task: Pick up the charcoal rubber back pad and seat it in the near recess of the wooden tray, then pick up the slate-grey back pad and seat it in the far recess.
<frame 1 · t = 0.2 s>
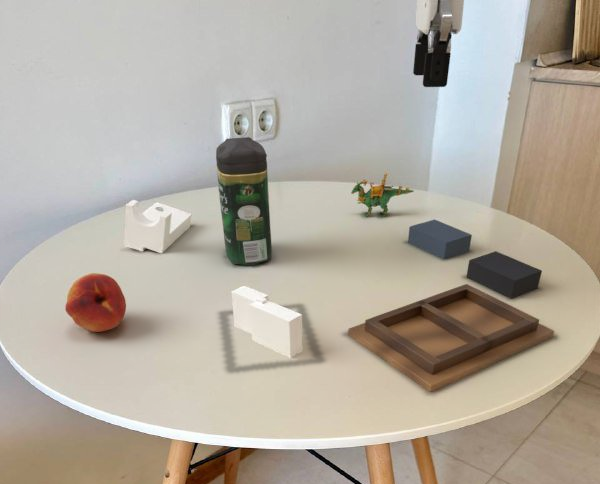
hand: (428, 80, 84), 27 cm above the table, tool pointing down, fingers open, 9 cm apart
coffee jar: (248, 256, 102), on the table
white stepped block: (268, 337, 80), on the table
pad near: (501, 283, 92), on the table
wooden tray: (449, 336, 79), on the table
pad front: (437, 247, 103), on the table
bracket: (163, 239, 109), on the table
figurine: (380, 216, 116), on the table
fruit: (102, 329, 82), on the table
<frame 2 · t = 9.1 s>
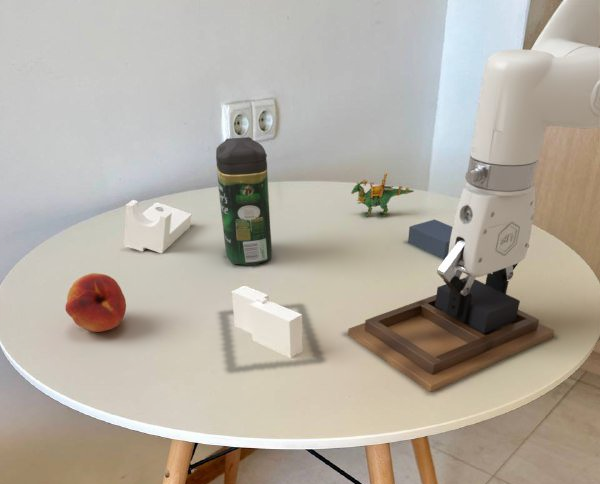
hand: (475, 309, 80), 3 cm above the table, tool pointing down, fingers closed on pad near, 6 cm apart
pad near: (474, 313, 80), point 2 cm above the table, touching gripper
everything else where it was.
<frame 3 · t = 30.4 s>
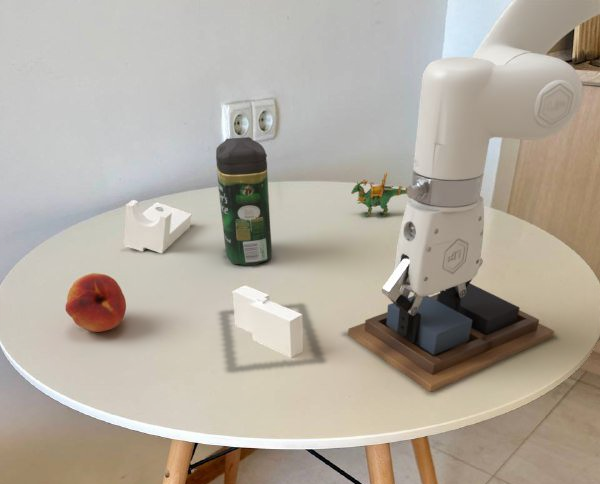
hand: (427, 328, 76), 3 cm above the table, tool pointing down, fingers closed on pad front, 6 cm apart
pad near: (474, 320, 81), point 1 cm above the table, touching wooden tray
pad front: (426, 332, 76), point 2 cm above the table, touching gripper
everything else where it was.
when the fingers open (4 cm above the table, at t = 39.8 s): pad front drops 2 cm, resting on wooden tray.
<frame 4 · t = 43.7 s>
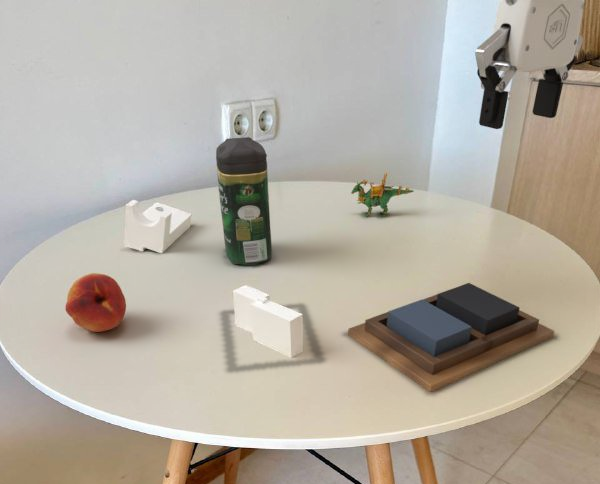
hand: (517, 121, 73), 24 cm above the table, tool pointing down, fingers open, 9 cm apart
pad front: (426, 339, 77), point 1 cm above the table, touching wooden tray
everything else where it was.
at the end: pad near 0.1 cm from the target spot on the wooden tray, point 1.0 cm above the wooden tray's base; pad front 0.1 cm from the target spot on the wooden tray, point 1.0 cm above the wooden tray's base; pad front tilted 0° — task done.
